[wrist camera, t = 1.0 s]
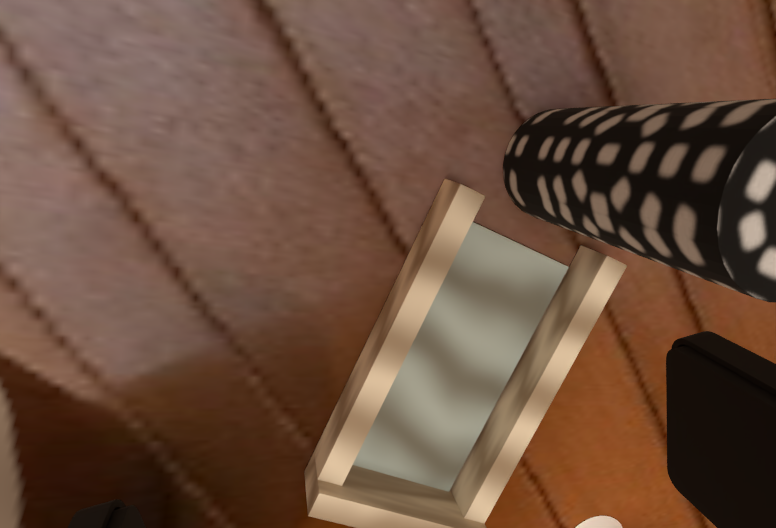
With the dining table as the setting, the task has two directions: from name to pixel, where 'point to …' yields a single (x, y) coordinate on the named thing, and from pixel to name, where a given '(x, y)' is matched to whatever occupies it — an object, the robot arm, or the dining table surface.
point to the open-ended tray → (454, 374)
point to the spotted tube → (659, 183)
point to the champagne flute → (600, 523)
